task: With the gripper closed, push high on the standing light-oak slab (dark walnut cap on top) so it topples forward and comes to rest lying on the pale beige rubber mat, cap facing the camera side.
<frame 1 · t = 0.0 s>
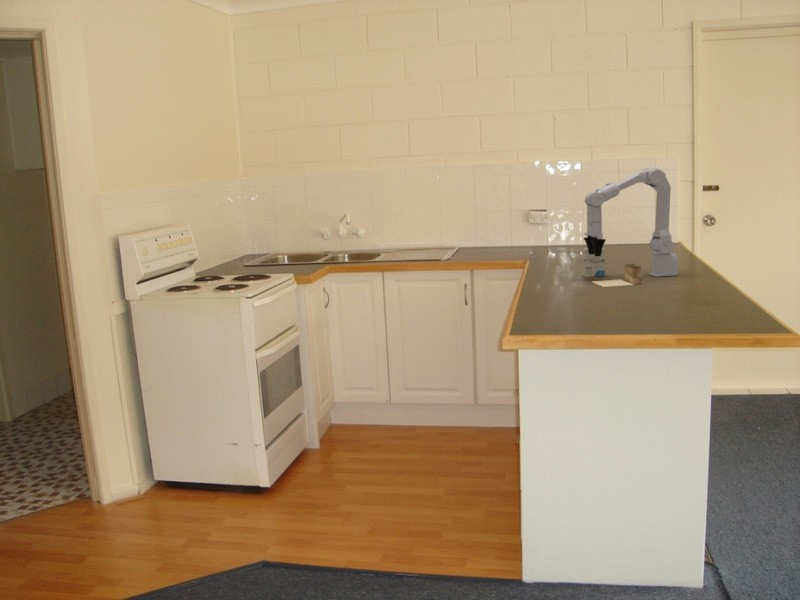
hand: (594, 255, 313), 10 cm above the worktop, fingers open, 7 cm apart
mat: (612, 283, 302), on the worktop
ink box: (594, 276, 325), on the worktop
oak slab: (633, 282, 303), on the worktop
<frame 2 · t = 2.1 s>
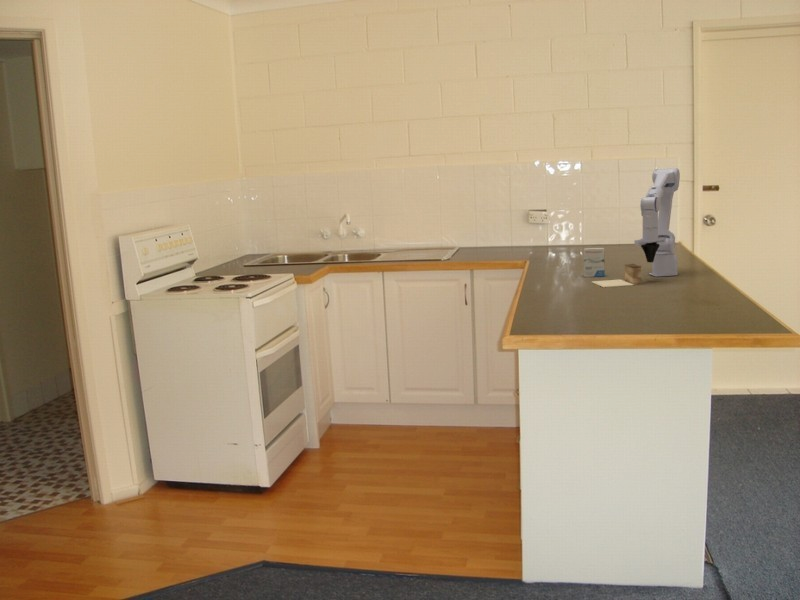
hand: (650, 262, 302), 8 cm above the worktop, fingers closed
nothing on the worktop moved.
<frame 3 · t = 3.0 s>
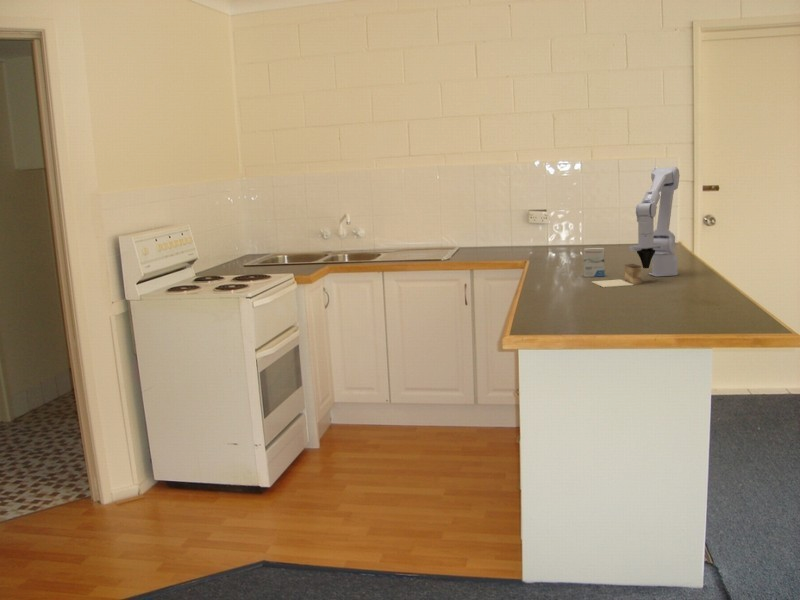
hand: (645, 268, 302), 5 cm above the worktop, fingers closed
nothing on the worktop moved.
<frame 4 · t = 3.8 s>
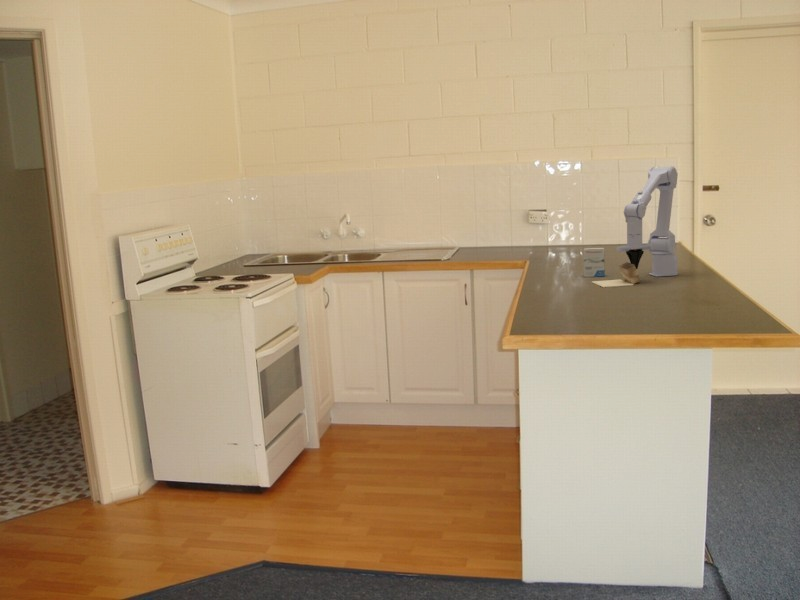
hand: (634, 268, 302), 5 cm above the worktop, fingers closed
oak slab: (632, 281, 303), point 1 cm above the worktop, tilted 21°
everything else where it was.
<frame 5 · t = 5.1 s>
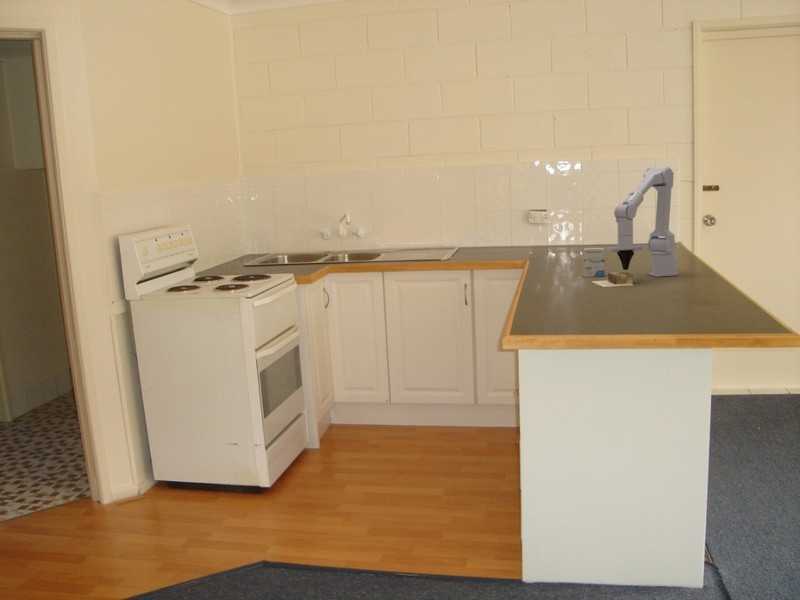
hand: (625, 269, 302), 5 cm above the worktop, fingers closed
oak slab: (629, 277, 303), point 2 cm above the worktop, tilted 90°, touching mat
everything else where it was.
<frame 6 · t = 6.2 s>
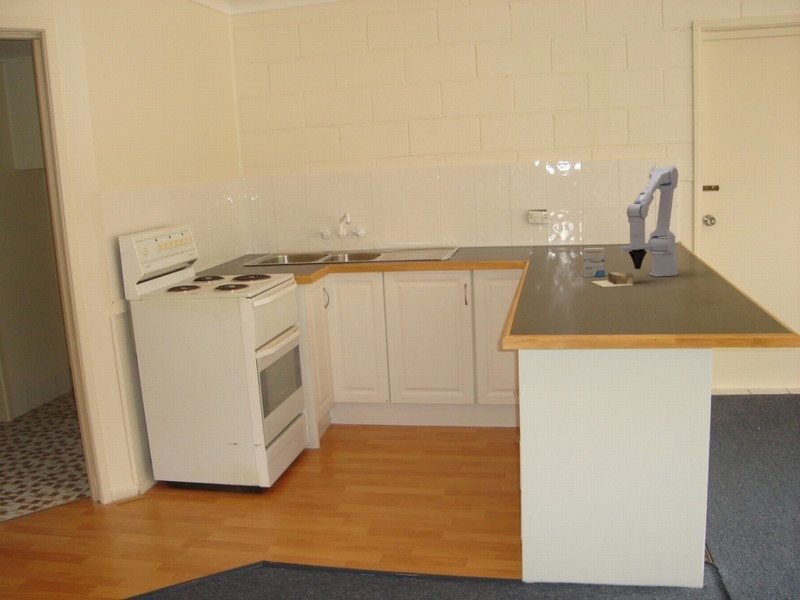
hand: (637, 268, 302), 5 cm above the worktop, fingers closed
nothing on the worktop moved.
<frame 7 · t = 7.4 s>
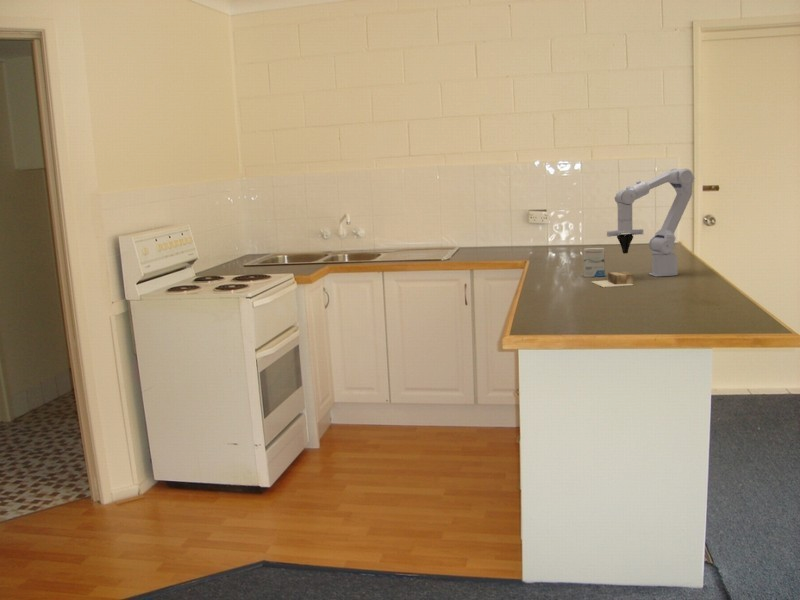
hand: (625, 253, 312), 10 cm above the worktop, fingers closed
nothing on the worktop moved.
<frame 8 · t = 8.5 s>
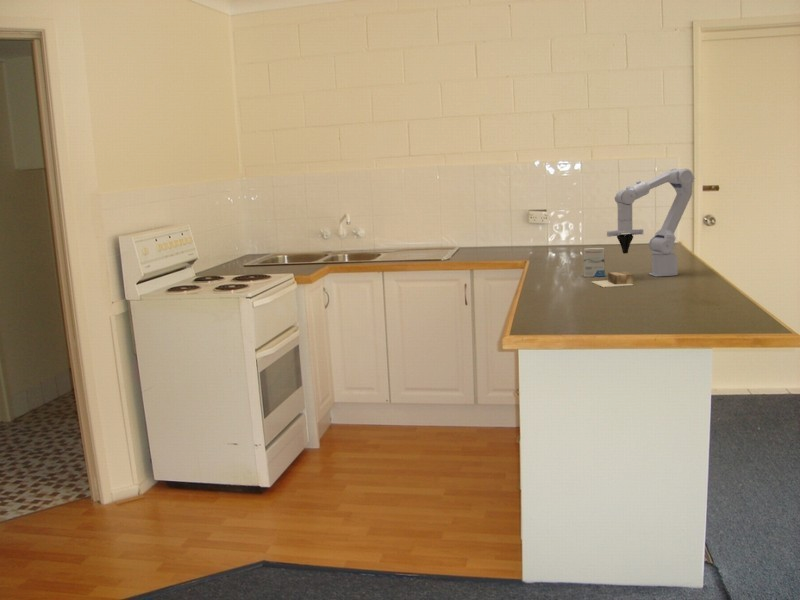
hand: (625, 253, 312), 10 cm above the worktop, fingers closed
nothing on the worktop moved.
at the end: oak slab tilted 90°; oak slab inside the target area (4.9 cm from its centre), point 2.1 cm above the worktop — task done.
